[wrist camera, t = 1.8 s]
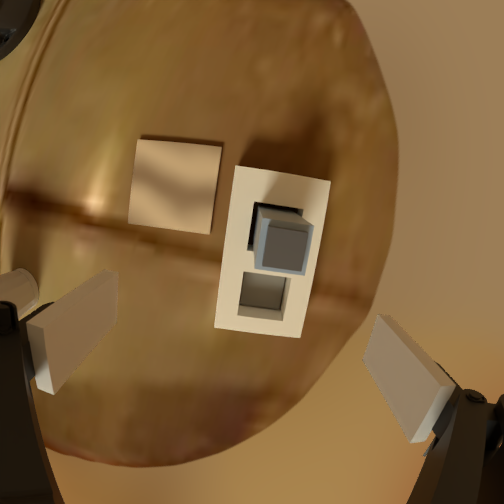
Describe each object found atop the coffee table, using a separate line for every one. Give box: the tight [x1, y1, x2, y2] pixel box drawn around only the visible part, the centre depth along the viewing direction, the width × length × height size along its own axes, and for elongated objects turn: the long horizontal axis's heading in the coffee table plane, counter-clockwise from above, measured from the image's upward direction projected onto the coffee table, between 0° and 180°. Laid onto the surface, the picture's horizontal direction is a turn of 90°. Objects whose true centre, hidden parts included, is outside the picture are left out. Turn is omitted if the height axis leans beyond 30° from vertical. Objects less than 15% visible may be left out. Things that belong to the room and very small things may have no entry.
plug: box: [253, 206, 314, 276], centre depth 30 cm, size 4×4×13 cm
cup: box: [0, 268, 39, 319], centre depth 32 cm, size 8×8×12 cm
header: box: [214, 166, 331, 338], centre depth 35 cm, size 18×10×4 cm, turn 172°
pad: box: [128, 139, 222, 234], centre depth 35 cm, size 10×10×1 cm
